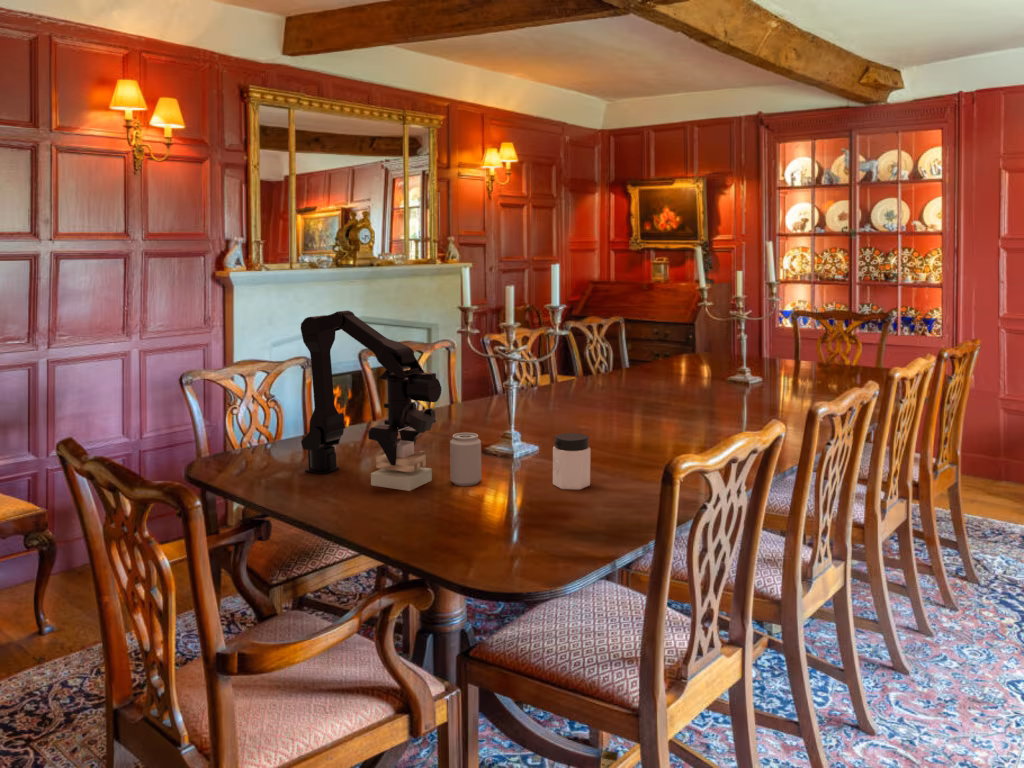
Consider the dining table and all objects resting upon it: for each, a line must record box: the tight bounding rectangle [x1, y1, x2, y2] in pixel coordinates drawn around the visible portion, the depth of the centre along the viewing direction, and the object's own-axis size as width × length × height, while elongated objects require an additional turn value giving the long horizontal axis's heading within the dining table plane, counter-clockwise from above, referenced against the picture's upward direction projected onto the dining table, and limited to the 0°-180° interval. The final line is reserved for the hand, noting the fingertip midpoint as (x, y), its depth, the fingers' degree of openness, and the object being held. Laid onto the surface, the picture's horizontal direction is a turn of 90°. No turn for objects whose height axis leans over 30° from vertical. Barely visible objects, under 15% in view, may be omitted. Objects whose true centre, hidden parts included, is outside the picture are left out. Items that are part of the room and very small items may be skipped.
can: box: [449, 432, 482, 487], centre depth 206 cm, size 8×8×12 cm
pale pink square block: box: [396, 440, 415, 458], centre depth 206 cm, size 5×5×3 cm
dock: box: [370, 467, 433, 492], centre depth 207 cm, size 11×10×3 cm
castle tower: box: [375, 449, 427, 472], centre depth 206 cm, size 10×6×4 cm, turn 64°
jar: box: [552, 432, 591, 491], centre depth 204 cm, size 9×8×12 cm
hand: (400, 462), depth 206 cm, fingers closed on castle tower, 6 cm apart
